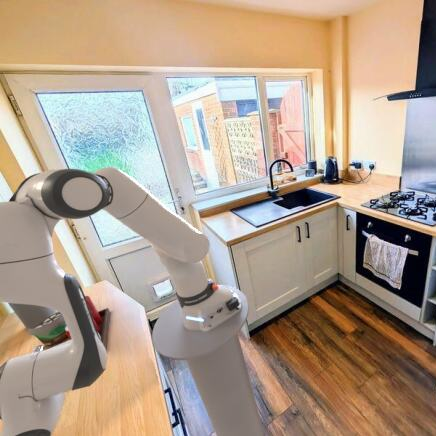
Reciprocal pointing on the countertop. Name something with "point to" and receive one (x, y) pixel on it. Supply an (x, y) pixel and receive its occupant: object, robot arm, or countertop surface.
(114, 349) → the countertop surface
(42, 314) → the water bottle
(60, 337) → the food container
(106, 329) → the can tray
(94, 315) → the matching cans
